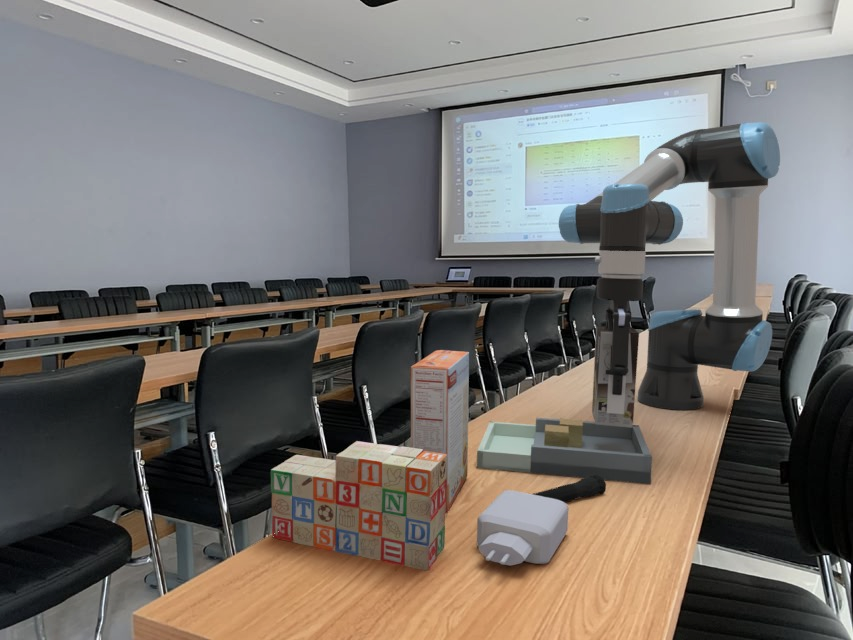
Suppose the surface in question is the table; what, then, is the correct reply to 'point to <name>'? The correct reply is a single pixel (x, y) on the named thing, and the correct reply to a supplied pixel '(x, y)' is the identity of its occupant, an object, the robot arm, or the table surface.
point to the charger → (521, 528)
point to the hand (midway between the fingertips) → (612, 406)
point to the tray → (506, 447)
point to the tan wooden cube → (573, 431)
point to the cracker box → (442, 412)
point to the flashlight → (576, 489)
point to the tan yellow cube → (556, 436)
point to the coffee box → (601, 378)
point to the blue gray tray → (595, 454)
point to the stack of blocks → (364, 503)
